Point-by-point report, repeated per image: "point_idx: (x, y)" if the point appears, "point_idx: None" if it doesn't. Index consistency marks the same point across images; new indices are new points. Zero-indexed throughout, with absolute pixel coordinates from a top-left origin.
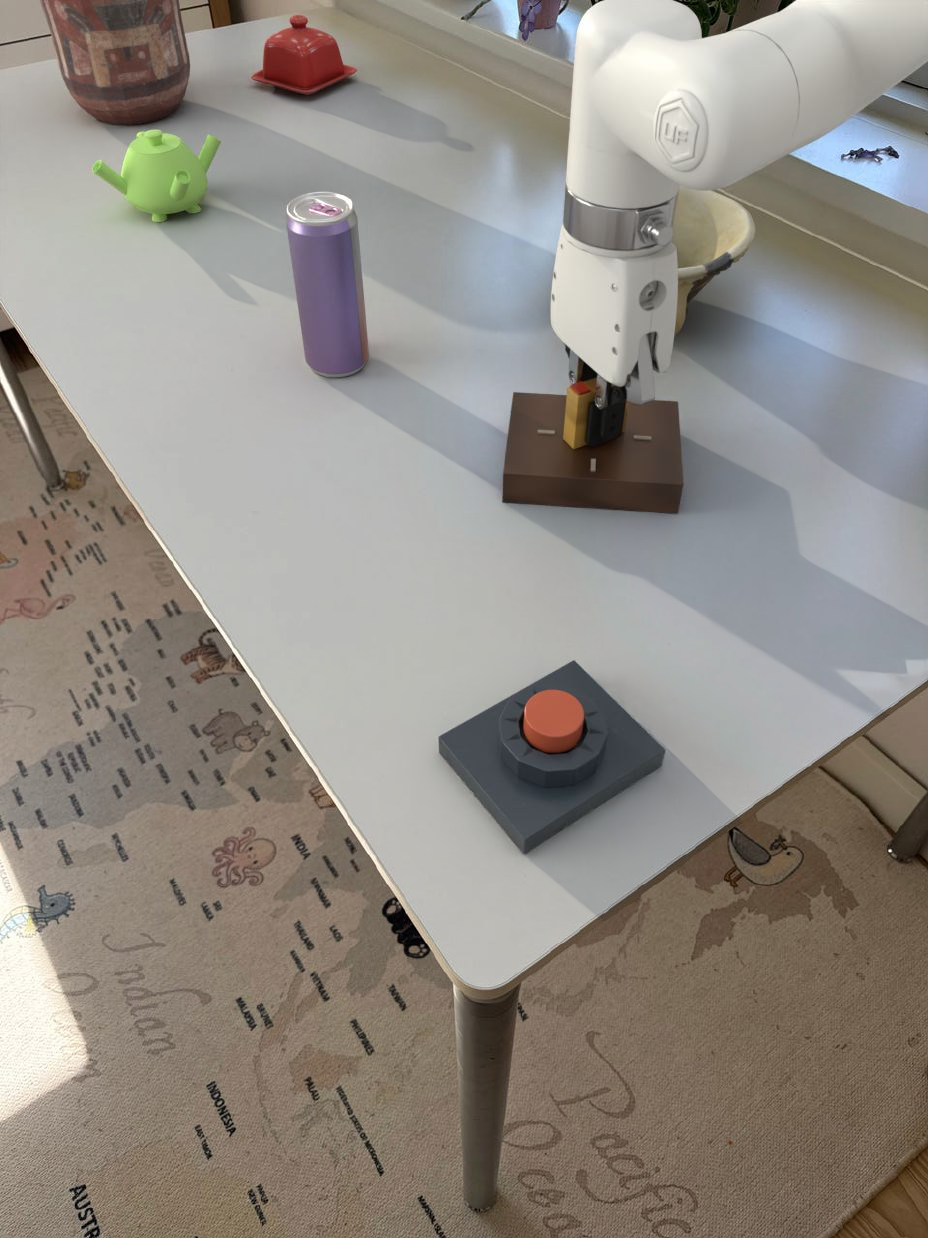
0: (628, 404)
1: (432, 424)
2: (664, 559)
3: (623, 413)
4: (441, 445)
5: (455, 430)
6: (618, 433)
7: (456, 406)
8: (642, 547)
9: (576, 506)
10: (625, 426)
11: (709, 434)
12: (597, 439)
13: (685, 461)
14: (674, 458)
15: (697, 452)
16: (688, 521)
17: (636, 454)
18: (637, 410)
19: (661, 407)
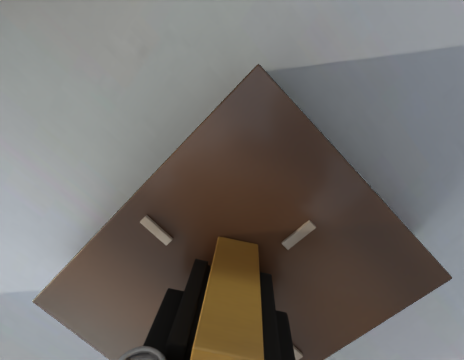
0: (260, 291)
1: (26, 339)
2: (449, 318)
3: (275, 316)
4: (73, 357)
5: (53, 328)
6: (286, 313)
7: (2, 295)
8: (410, 321)
9: None
10: (258, 251)
11: (317, 17)
12: None
13: (336, 127)
14: (389, 233)
15: (336, 87)
16: (433, 239)
17: (324, 277)
18: (221, 171)
19: (248, 118)
